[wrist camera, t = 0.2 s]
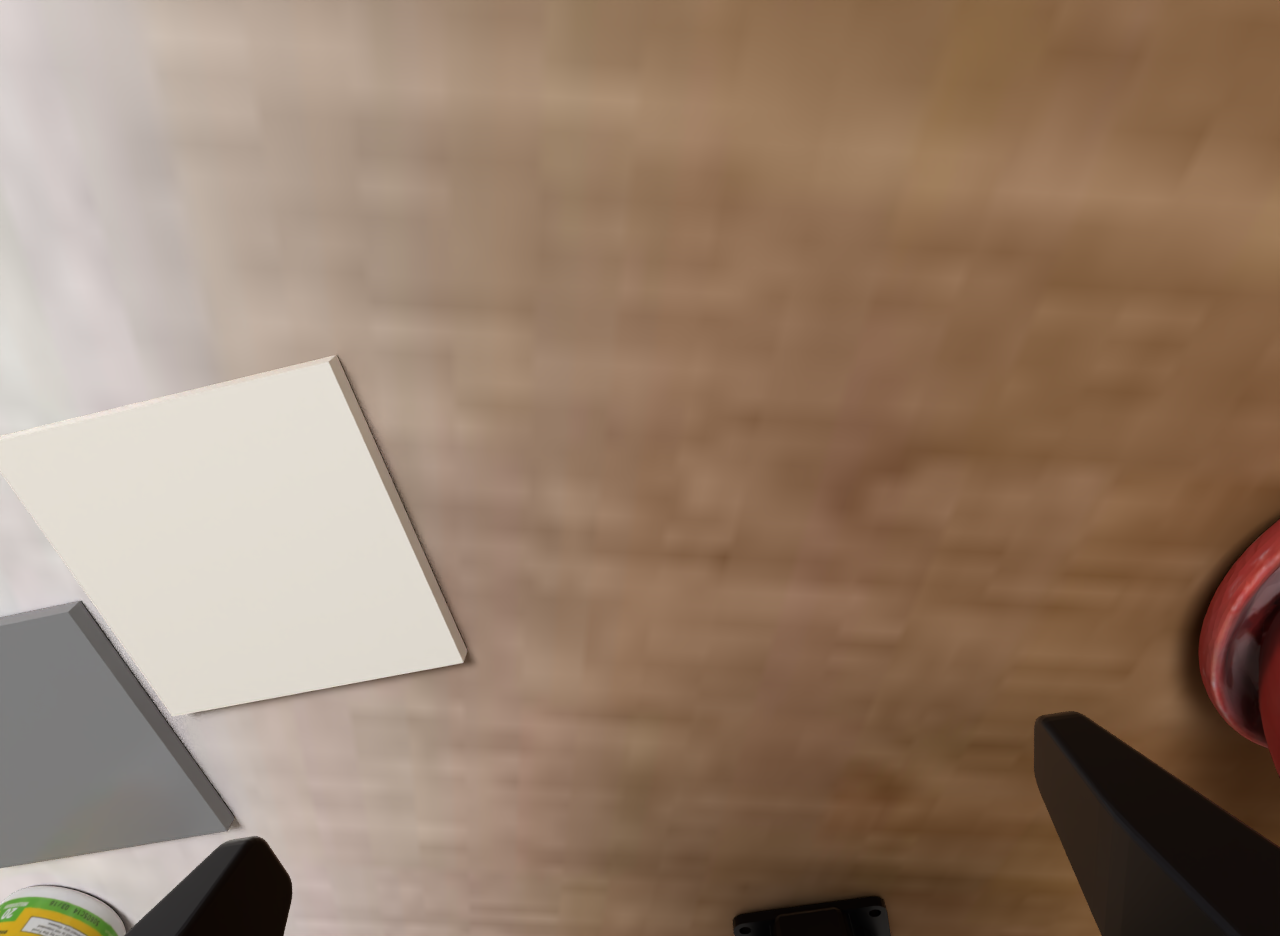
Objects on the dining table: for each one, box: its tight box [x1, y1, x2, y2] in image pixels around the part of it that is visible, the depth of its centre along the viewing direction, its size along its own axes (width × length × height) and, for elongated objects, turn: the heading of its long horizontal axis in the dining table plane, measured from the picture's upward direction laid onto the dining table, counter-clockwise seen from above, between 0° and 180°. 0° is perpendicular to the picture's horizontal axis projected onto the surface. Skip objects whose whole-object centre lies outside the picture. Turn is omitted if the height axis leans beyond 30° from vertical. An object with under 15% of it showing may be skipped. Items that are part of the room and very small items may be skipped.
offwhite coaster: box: [0, 355, 467, 717], centre depth 24 cm, size 11×11×1 cm
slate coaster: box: [0, 601, 235, 868], centre depth 28 cm, size 11×11×1 cm
